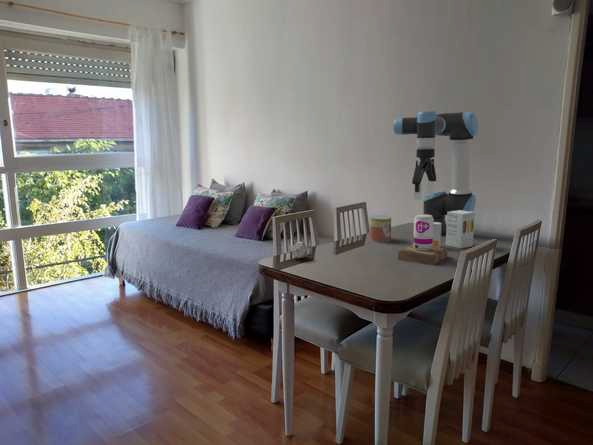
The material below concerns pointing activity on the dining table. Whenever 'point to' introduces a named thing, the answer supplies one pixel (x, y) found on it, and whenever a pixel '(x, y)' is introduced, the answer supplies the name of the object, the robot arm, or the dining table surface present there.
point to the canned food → (380, 228)
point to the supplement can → (423, 232)
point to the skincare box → (437, 234)
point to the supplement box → (460, 228)
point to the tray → (423, 255)
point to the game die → (299, 250)
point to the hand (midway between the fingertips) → (424, 197)
